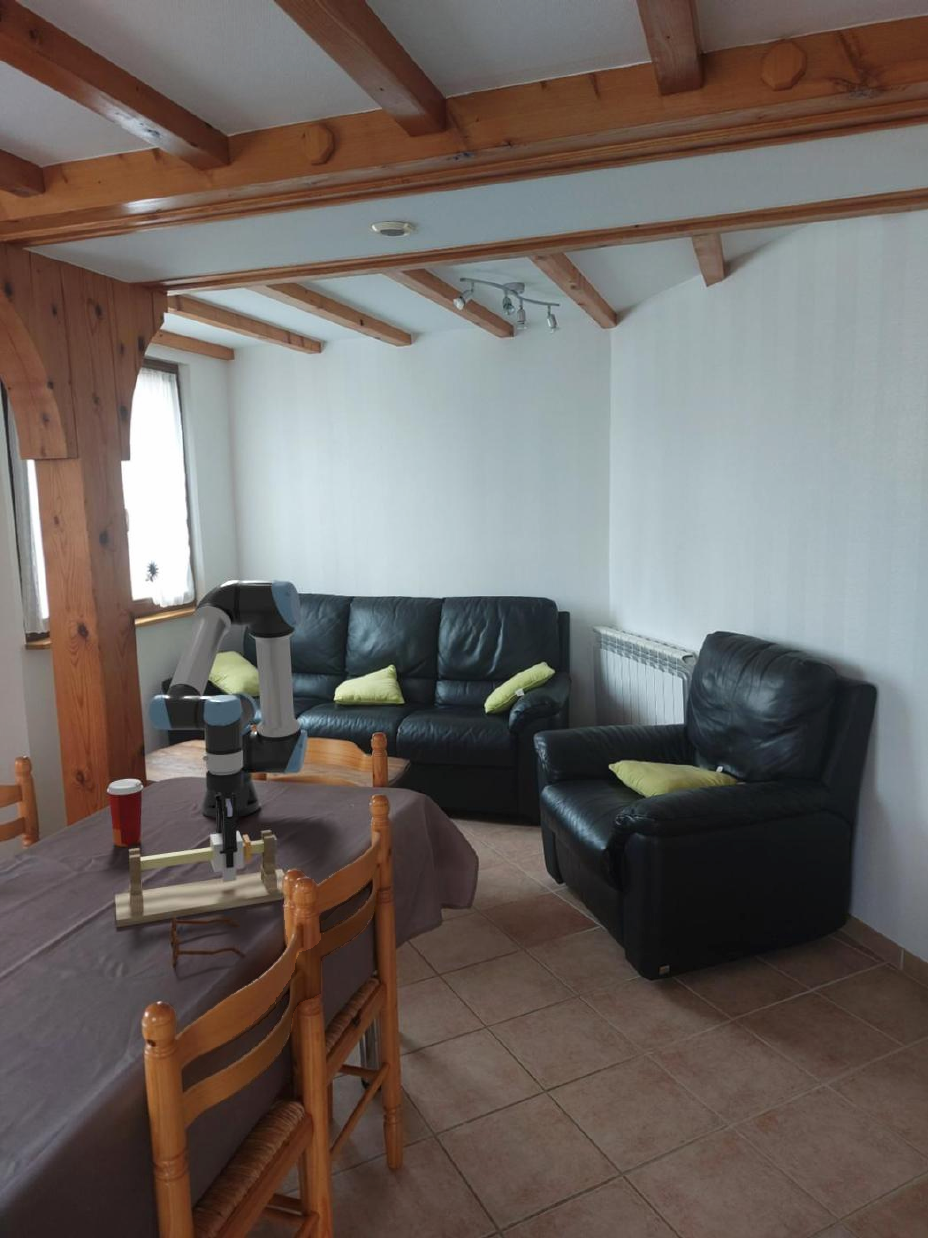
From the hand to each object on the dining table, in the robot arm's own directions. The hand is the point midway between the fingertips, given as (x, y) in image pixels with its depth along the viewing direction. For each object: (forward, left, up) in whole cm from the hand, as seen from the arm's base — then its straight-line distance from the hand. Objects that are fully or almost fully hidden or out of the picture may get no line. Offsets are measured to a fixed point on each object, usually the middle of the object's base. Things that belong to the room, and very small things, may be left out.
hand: (227, 874), depth 184 cm
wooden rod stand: (0, -5, -5) cm, 7 cm away
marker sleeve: (0, 0, +2) cm, 2 cm away
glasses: (+20, -7, -6) cm, 22 cm away
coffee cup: (-39, -19, -5) cm, 44 cm away
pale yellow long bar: (0, -4, +3) cm, 5 cm away
